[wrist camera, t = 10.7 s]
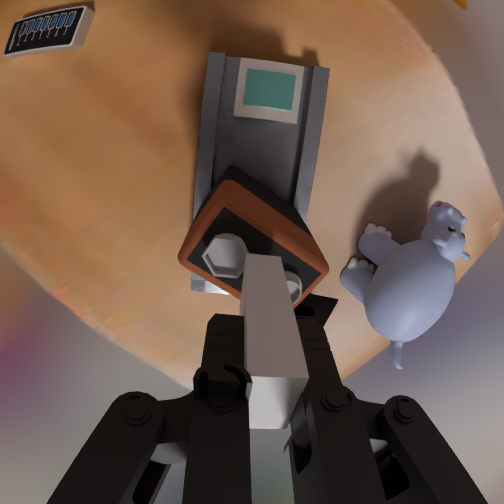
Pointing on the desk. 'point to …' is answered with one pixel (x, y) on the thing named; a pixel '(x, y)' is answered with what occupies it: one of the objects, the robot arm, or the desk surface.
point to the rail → (260, 129)
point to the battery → (250, 237)
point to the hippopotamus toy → (407, 276)
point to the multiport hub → (50, 32)
